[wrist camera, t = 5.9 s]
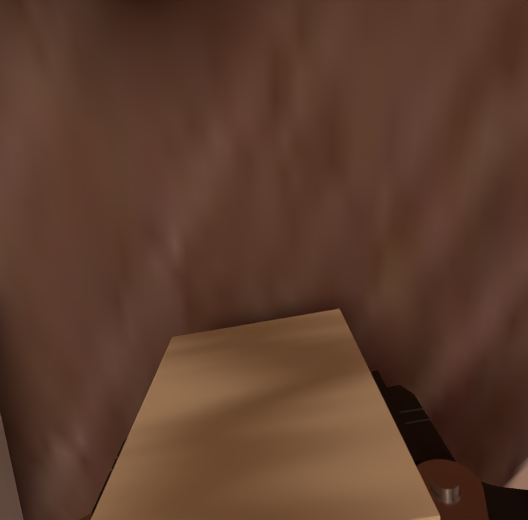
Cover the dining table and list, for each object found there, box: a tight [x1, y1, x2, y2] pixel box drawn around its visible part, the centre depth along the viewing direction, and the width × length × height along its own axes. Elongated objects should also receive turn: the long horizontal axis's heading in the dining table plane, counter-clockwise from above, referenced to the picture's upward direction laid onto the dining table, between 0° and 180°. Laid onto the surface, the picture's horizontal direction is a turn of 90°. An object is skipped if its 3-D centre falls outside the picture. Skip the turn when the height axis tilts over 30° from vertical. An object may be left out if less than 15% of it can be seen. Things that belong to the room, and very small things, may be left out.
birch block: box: [91, 309, 440, 520], centre depth 10 cm, size 5×5×7 cm
